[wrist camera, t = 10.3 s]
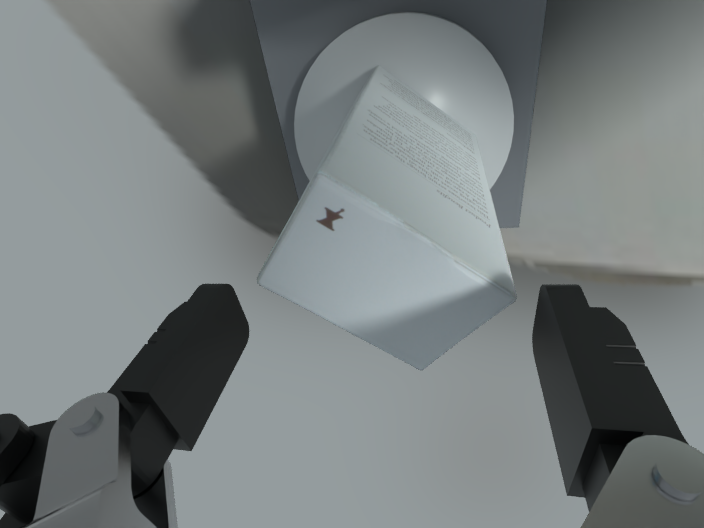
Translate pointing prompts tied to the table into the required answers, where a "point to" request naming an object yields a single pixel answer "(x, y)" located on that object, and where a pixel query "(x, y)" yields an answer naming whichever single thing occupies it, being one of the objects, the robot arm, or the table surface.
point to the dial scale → (408, 73)
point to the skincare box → (396, 230)
